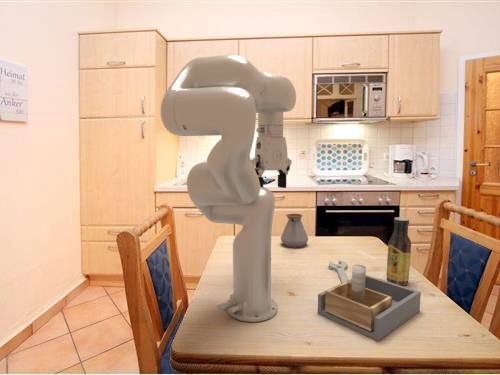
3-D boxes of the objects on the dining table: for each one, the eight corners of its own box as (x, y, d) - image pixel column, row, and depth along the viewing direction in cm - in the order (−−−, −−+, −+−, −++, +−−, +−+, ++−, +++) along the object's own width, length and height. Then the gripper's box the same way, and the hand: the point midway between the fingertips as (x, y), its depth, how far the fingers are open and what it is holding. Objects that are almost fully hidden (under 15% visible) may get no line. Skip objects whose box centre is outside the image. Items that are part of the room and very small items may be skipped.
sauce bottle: (382, 278, 104) (385, 216, 102) (401, 278, 104) (404, 215, 102) (392, 287, 98) (395, 220, 95) (413, 286, 98) (416, 220, 96)
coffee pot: (282, 240, 147) (282, 207, 146) (308, 241, 145) (309, 207, 143) (276, 256, 127) (276, 217, 125) (306, 257, 124) (307, 218, 123)
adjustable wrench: (355, 297, 93) (356, 291, 92) (332, 296, 94) (332, 290, 94) (346, 265, 117) (346, 260, 117) (327, 264, 118) (327, 259, 118)
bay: (378, 341, 71) (379, 319, 70) (317, 313, 83) (318, 294, 82) (419, 311, 84) (420, 291, 83) (362, 290, 96) (362, 273, 95)
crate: (370, 331, 72) (372, 279, 71) (325, 310, 81) (326, 264, 80) (391, 317, 78) (393, 269, 77) (346, 299, 87) (347, 256, 86)
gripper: (257, 131, 92) (257, 192, 94) (299, 132, 103) (299, 187, 105) (240, 132, 97) (241, 190, 99) (281, 133, 109) (281, 185, 111)
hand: (270, 188), depth 102 cm, fingers open, 9 cm apart
